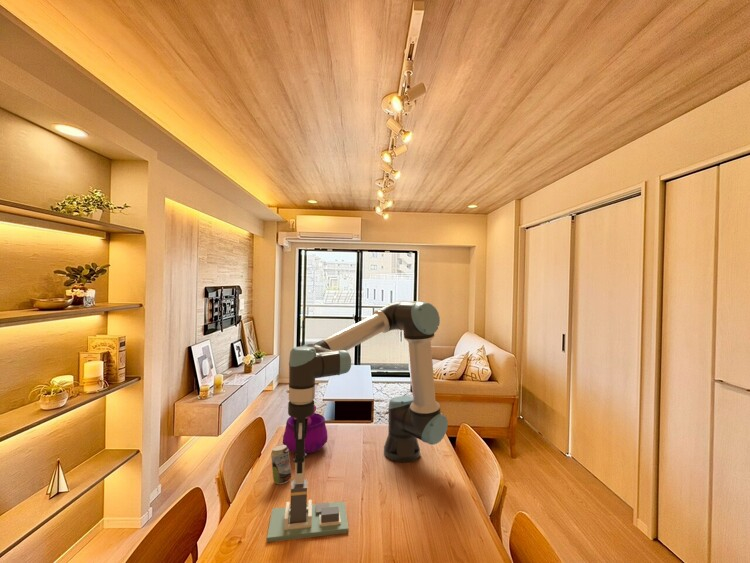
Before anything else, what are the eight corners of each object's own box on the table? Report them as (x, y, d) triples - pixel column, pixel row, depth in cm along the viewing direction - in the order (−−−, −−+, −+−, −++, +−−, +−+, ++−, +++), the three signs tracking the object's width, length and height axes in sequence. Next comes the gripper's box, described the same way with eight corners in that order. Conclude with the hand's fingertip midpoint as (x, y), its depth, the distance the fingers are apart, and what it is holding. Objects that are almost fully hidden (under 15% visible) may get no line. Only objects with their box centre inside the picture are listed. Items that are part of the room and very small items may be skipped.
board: (344, 505, 104) (344, 491, 104) (348, 532, 92) (348, 517, 92) (272, 512, 100) (272, 498, 100) (266, 542, 88) (267, 526, 88)
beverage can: (286, 487, 113) (287, 452, 113) (266, 484, 114) (267, 450, 114) (294, 477, 119) (295, 444, 119) (275, 475, 120) (276, 441, 121)
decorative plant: (336, 449, 140) (337, 378, 141) (298, 465, 127) (300, 387, 128) (310, 435, 154) (312, 370, 155) (274, 448, 141) (276, 377, 141)
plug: (306, 512, 98) (307, 478, 99) (306, 523, 94) (307, 487, 94) (290, 514, 98) (291, 480, 98) (289, 525, 93) (290, 489, 93)
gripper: (289, 394, 102) (287, 470, 102) (286, 408, 90) (284, 496, 89) (314, 393, 104) (312, 468, 103) (314, 407, 91) (312, 494, 90)
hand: (299, 481), depth 96 cm, fingers closed
